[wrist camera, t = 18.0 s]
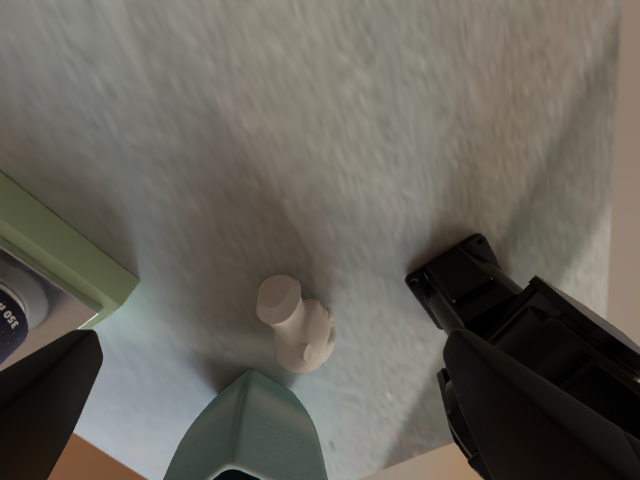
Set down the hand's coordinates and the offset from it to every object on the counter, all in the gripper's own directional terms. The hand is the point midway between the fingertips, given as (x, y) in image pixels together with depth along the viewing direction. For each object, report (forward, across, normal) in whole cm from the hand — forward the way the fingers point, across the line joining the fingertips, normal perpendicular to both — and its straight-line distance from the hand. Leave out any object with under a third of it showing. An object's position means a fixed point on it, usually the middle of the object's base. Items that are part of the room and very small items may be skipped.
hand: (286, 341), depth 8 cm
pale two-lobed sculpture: (+13, -2, +9) cm, 16 cm away
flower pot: (+13, +2, +19) cm, 23 cm away
